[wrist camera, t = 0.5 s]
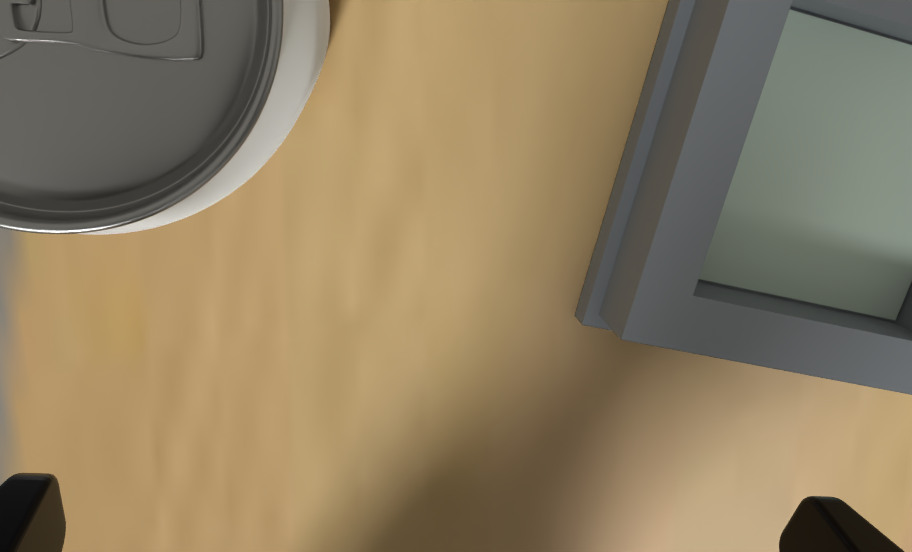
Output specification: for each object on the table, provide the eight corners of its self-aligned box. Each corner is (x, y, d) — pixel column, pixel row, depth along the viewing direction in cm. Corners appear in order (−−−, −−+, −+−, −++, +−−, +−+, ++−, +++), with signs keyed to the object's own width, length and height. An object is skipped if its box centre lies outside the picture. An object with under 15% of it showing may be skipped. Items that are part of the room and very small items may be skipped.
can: (52, -131, 19) (-379, -371, 8) (327, -120, 20) (309, -320, 8) (85, 142, 21) (-218, 276, 9) (334, 140, 22) (329, 262, 10)
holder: (907, 379, 27) (969, 418, 24) (574, 315, 24) (603, 350, 22) (1062, 15, 24) (1153, 13, 21) (699, -100, 21) (750, -119, 19)
